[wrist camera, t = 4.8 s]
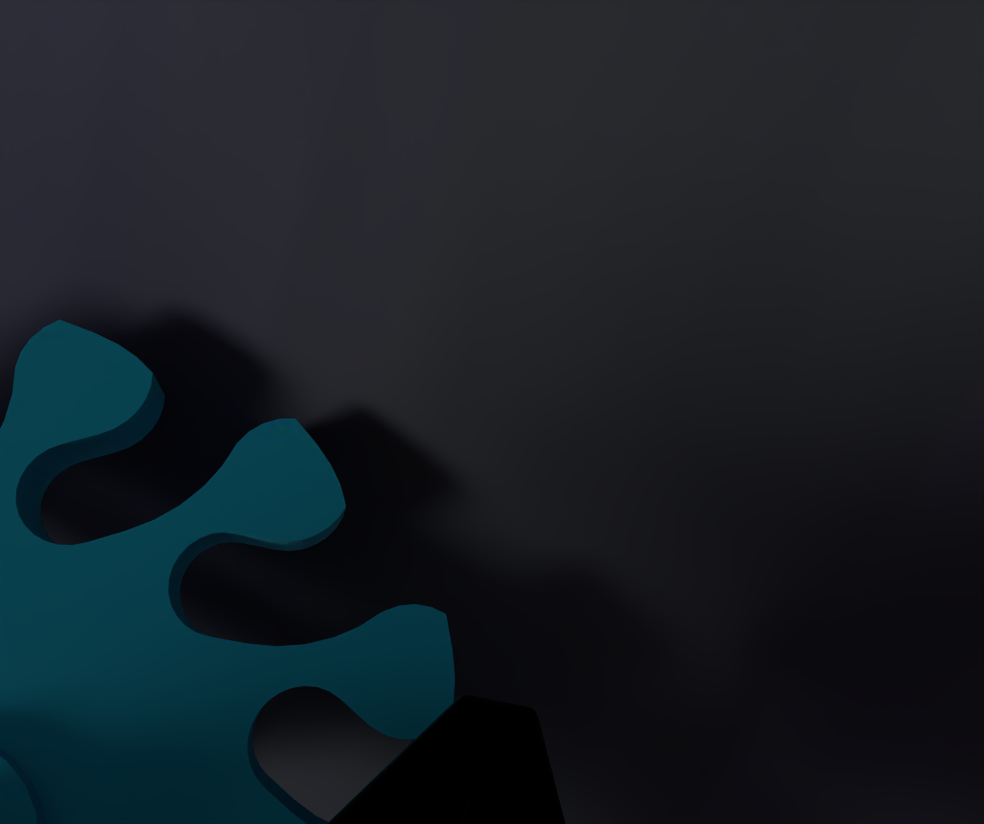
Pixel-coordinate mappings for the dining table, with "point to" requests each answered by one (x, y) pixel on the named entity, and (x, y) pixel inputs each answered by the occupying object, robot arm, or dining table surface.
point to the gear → (165, 616)
